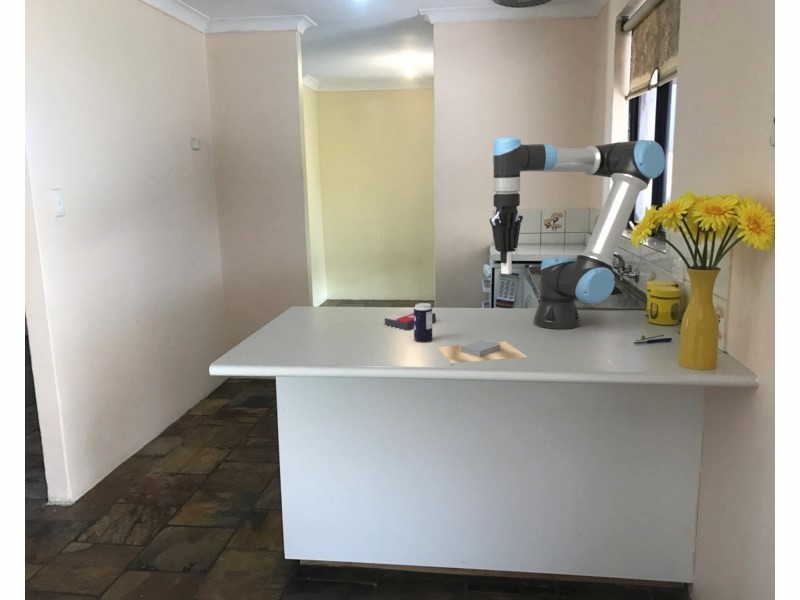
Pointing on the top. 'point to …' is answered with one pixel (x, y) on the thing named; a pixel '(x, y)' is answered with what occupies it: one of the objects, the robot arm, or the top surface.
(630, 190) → the robot arm
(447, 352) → the cork mat
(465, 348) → the slate tile
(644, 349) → the top surface
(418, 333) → the beverage can
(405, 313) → the calculator
